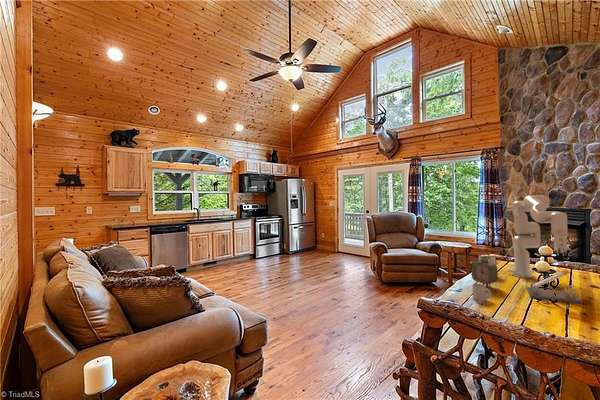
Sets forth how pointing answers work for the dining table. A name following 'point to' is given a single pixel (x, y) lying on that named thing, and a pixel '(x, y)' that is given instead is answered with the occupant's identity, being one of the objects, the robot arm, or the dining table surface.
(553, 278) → the hold down bar
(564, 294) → the clamp plate
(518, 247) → the robot arm
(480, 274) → the tabletop clock
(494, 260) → the candy bar box
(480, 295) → the grey rounded lump
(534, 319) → the dining table surface
